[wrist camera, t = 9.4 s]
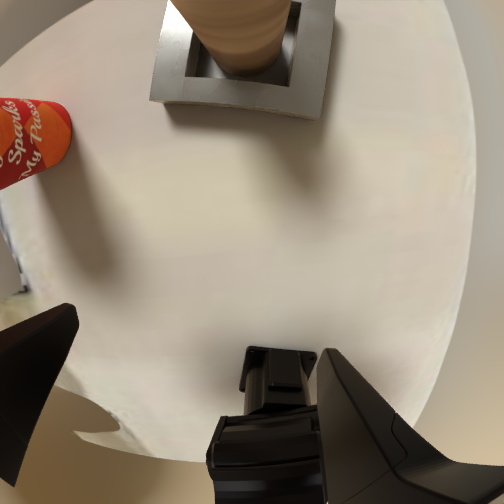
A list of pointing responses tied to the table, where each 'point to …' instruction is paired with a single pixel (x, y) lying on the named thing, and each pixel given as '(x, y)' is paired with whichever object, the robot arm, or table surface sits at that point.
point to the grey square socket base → (245, 92)
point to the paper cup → (31, 137)
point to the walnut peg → (238, 31)
